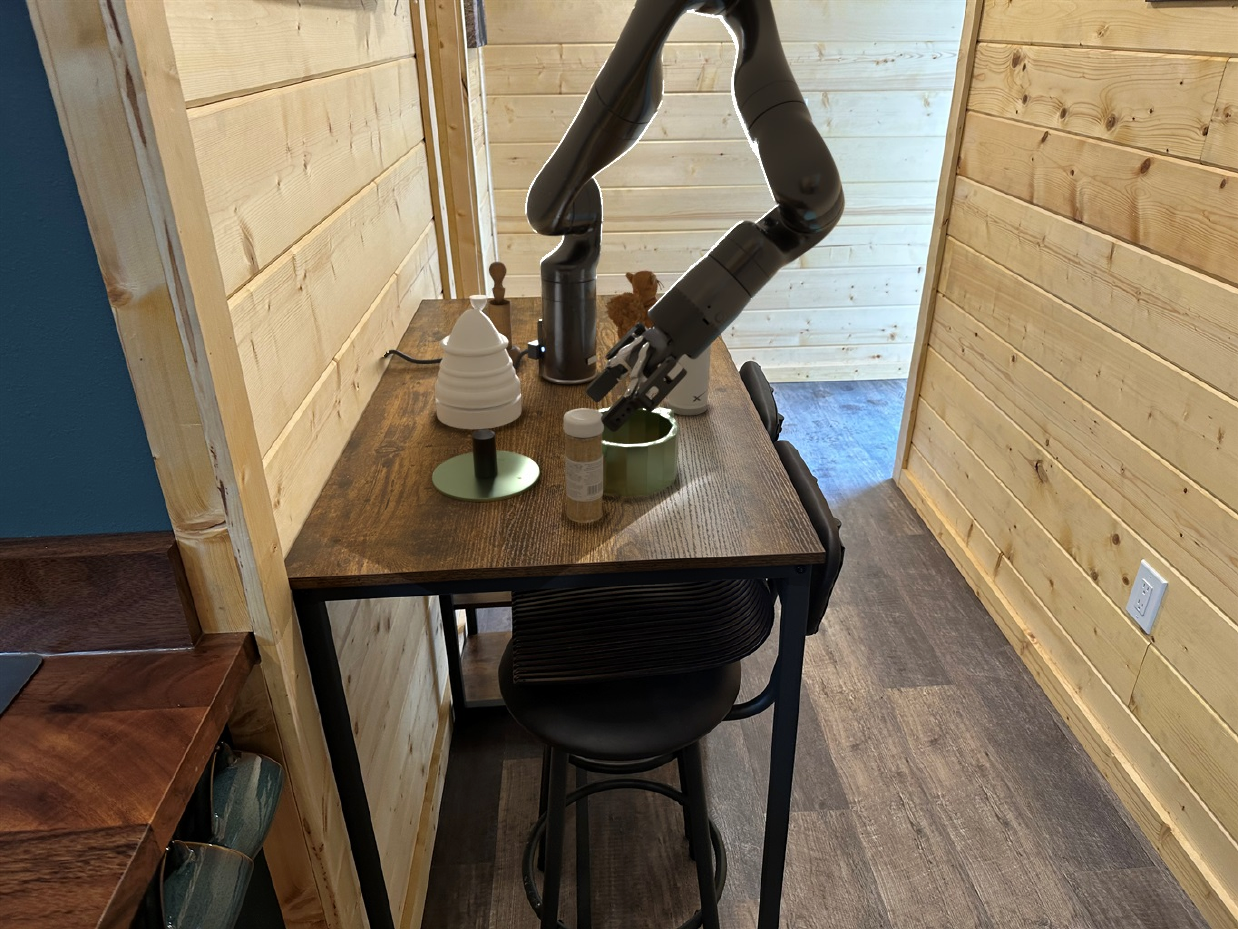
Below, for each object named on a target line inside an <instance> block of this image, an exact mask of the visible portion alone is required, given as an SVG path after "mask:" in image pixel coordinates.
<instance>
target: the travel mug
mask: <svg viewBox="0 0 1238 929" xmlns="http://www.w3.org/2000/svg"><path fill="white" fill-rule="evenodd" d="M711 352H712V344H711V345H710V346H709V347H708V348H707V349H706V350H705V351H704V352H703V353H702V354H701V355H700V356H699V357H698V358H697V359H690V358H689V357H688V356H687V355H686V354H684V355H683V356H682V357H681V358H680V360H679V361H678V362H679V363H680V364H681V365H682V366H683V368H684V369H685V370H687V374H686V376H685V377H684V378H683V379H682V380H681V381H680V382H679V383H678V384H677V385H676V386H675V388H674V389H673V390H672V391H671V392H670V393H669V394H668V395H667V405H666V406H667V409H669V410H672V411H674V414H677V415H680V416H697V415H702V414H703V413H705V412H706V411H707V409H708V399H709V383H710V382H709V381H710V369H711V368H710V366H711Z"/></svg>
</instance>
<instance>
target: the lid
mask: <svg viewBox="0 0 1238 929" xmlns="http://www.w3.org/2000/svg"><path fill="white" fill-rule="evenodd" d="M471 445H472V451H471V452H467V453H466V452H465V453H462V454H459V455H456V456H453V457H451V458H448V459H447V460H444V461H443V462H441V463H440V464H439V465H437V467H436V468H435V469H434V470H433V472H432V475H431V480H432V481H431V482H432V485H433V487H434V489H435V490H436V491H437V492H438V493H439V494H441V495H442V496H445V497H447V498H450V499H452V500H457V501H461V502H462V501H463V502H470V503H489V502H491V503H492V502H498V501H503V500H508V499H511V498H515V497H517V496H520V495H522V494H524V493H526V492H528V491H530V490H531V489H532V488H533V487H535V486H536V484H537V483H538V481H539V479H540V477H541V476H540V475H541V474H540V466H538V464H537V463H536V462H535V461H534V460H532V458H530V457H528V456H526V455H524V454H519V453H517V452H513V451H507V450H497V436H496V433H495V431H493V430H489V429H478V430H475V431H474V432H472V434H471Z"/></svg>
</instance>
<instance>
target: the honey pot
mask: <svg viewBox="0 0 1238 929" xmlns="http://www.w3.org/2000/svg"><path fill="white" fill-rule="evenodd" d="M469 301H470V305H471V306H472V308H468V309H466V310H465V311H464V312H462V313H461V314H460V316H459V317H458V318H457V320H456V322H455V324H454V326H453V328H452V330H451V332H450V334H449V335H447V336H445V337H443V338H442V339H441V340H440V343H439V347H440V350H442V351H443V356H442V358H443V359H442V361H441V363H439V370H438V372H437V379H436V381H435V383H434V388H433V389H434V391H435V392H434V396H435V398H434V399H435V409H436V410H435V411H436V416H437V419H438V421H440V422H441V423H442V424H444V425H446V426H449V427H451V428H457V429H463V430H487V429H494V428H498V427H503V426H505V425H507V424H509V423H512V422H514V421H516V420H517V419H518V418H519V417H520V416H522V410H523V409H522V393H521V391H522V389H521V380H520V378H519V376H517V374H516V372H517V371H516V369H514V367H513V366H512V364H513V362H512V360H511V358H510V357H509V355H508V353H507V350H506V348H507V346H508V340H507V338H506V337H505V336H503V335H501V334H498V332H497V330H496V329H495V327H494V325H493V324H492V322H491V321H490V320H489V316H487V315H486V314H485V313H484V312H483V310H484V309H485V307H486V306H487V303H488V296H487V295H486V294H473V295H470V296H469Z"/></svg>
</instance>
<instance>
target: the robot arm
mask: <svg viewBox="0 0 1238 929" xmlns="http://www.w3.org/2000/svg"><path fill="white" fill-rule="evenodd" d="M773 8H774V7H773V5H772V1H771V0H635V3H634V5H633V7H632V10H631V12H630V14H629V15H628V16H629V17H628V19H627V20H626V22H625V25H624V26H623V29H622V30H621V32H620V35H619V36H618V38H617V40H616V43H614V46H613V48H612V50H611V52H610V54H609V55H608V58H607V59H606V61H605V63H604V65H603V66H602V67H601V69H600V71H599V72H598V74H597V76H596V78H595V79H594V81H593V83H592V84H591V86H590V88H589V90H588V92H587V94H586V96H585V98H584V100H583V101H582V102H583V103H582V104H581V106H580V108H579V110H578V112H577V114H576V116H575V117H574V119H573V121H572V123H571V124H570V126H569V128H568V129H567V131H566V133H565V134H564V136H563V137H562V139H561V141H560V143H559V144H558V146H557V147H556V149H555V150H554V151H553V153H552V154H551V156H550V157H549V159H548V160H547V161H546V163H545V164H544V165H543V167H542V168H541V170H540V171H539V172H538V174H537V175H536V177H535V178H534V180H533V181H532V183H531V185H530V187H529V190H528V193H527V197H526V201H525V202H526V203H525V216H526V219H527V222H528V225H529V226H530V228H531V229H532V230H533V231H534V232H535V233H536V234H538V235H540V236H543V237H550V238H551V237H552V238H553V237H554V238H555V237H556V238H557V237H562V240H561V242H560V243H559V244H558V246H556V248H554V250H552V251H551V252H549V253H548V254H546V255H545V256H544V257H542V259H541V260H540V263H539V276H540V278H539V281H540V283H539V284H540V308H541V309H540V310H541V319H539V320H537V322H536V330H537V333H536V334H537V339H535V340H533V341H531V342H527V343H526V344H527V348H525V349H523V350H522V351H520V354H519V355H518V356H517V359H516V362H515V364H514V365H512V366H513V367H514V369H515V370H516V369H518V368H519V366H520V364H521V362H522V359H523V357H524V356H526V355H527V359H531V360H534V361H538V363H537V364H538V365H537V366H538V375H539V376H542V378H543V379H544V380H546V381H548V382H549V383H554V384H559V385H581V384H586V383H589V382H590V383H589V384H588V386H586V388H585V389H584V392H585V394H586V396H587V397H589V398H590V399H591V400H592V401H593V402H594V403H596V404H597V403H600V402H601V401H602V400H603V399H604V398H605V397H606V396H607V395H608V394H609V393H610V392H611V391H612V390H613V389H614V388H615V387H616V386H617V385H618V384H619V383H620V380H623V379H625V378H626V377H628V376H629V378H630V383H629V385H628V386H627V388H626V390H625V393H624V394H622V395H621V396H620V397H619V398H618V399H617V400H616V401H615V402H614V403H613V404H612V405H611V406H610V407H608V408H609V409H608V410H607V411H606V412H605V413H604V415H603V416H602V417H601V421H602V423H603V424H604V425H605V426H606V427H607V428H608V429H609V430H611V431H612V432H615V431H617V430H618V429H619V428H620V427H621V426H622V425H623V424H624V423H625V422H626V421H627V420H628V419H629V418H630V417H631V416H632V415H633V414H634V413H635V412H636V411H637V410H638V409H640V410H643V409H645V410H647V411H648V412H652V411H653V410H655V409H657V408H658V406H659V405H660V404H661V403H662V402H663V401H664V399H665V398H667V397H668V394H669V393H670V392H671V391H672V390H673V389H674V388H675V386H676V385H677V384H678V383H679V382H680V381H681V380H682V379H683V378H684V377H685V376H686V374H687V370H685V369H684V368H683V366H682V365H681V364H680V363H679V362H678V361H679V360H680V358H681V357H682V356H683V355H684V354H686V355H687V356H688V357H689V358H690V359H697V358H698V357H699V356H700V355H701V354H702V353H703V352H704V351H705V350H706V349H707V348H708V347H709V346H710V345H711V346H712V344H713V343H714V342H715V341H716V340H717V339H718V337H720V335H722V334H723V333H724V331H726V330H727V328H728V327H729V326H730V325H731V324H732V323H733V322H734V321H736V319H737V318H738V317H739V316H740V315H741V313H742V312H743V311H744V310H745V308H746V307H747V306H748V304H749V303H750V302H751V301H752V300H753V299H754V298H755V296H757V295H758V294H759V293H760V291H762V289H764V288H765V287H766V286H767V285H768V283H769V282H771V280H772V279H773V278H774V277H775V276H776V275H777V274H778V273H779V271H781V270H783V269H784V268H786V267H787V266H788V265H790V264H792V263H793V262H795V261H797V259H799V258H801V257H802V256H804V255H805V254H806V253H807V252H809V251H811V250H812V249H813V248H815V247H816V246H817V245H818V244H820V243H821V242H822V241H824V239H825V238H826V237H827V236H829V234H831V232H832V231H833V230H834V229H835V227H836V226H837V225H838V223H839V222H840V220H841V218H842V216H843V214H844V211H845V207H846V206H845V205H846V198H845V193H844V192H845V191H844V189H843V184H842V180H841V175H840V171H839V169H838V166H837V164H836V161H835V159H834V157H833V154H832V153H831V151H830V149H829V147H828V145H827V144H826V141H825V140H824V138H823V137H822V135H821V133H820V132H819V130H818V128H817V127H816V125H815V124H814V121H813V118H812V115H811V112H810V109H809V107H808V105H807V103H806V100H805V98H804V96H803V94H802V91H801V89H800V87H799V85H798V83H797V80H796V79H795V77H794V74H793V72H792V70H791V66H790V65H789V62H788V60H787V56H786V54H785V50H784V48H783V45H782V41H781V38H780V33H779V30H778V25H777V21H776V16H775V13H774V9H773ZM686 13H690V14H697V15H701V16H706V17H710V18H719V19H720V21H721V22H722V23H723V24H724V26H725V27H726V29H727V30H728V33H729V34H730V35H731V37H732V40H733V42H734V45H735V49H736V51H735V52H736V55H735V60H734V66H733V71H732V77H731V96H732V101H733V105H734V108H735V111H736V114H737V116H738V118H739V121H740V123H741V126H742V128H743V130H744V133H745V135H746V138H747V139H748V142H749V144H750V147H751V148H752V151H753V152H754V153H755V155H756V156H757V158H758V159H759V160H758V161H759V163H760V166H761V169H762V171H763V174H764V177H765V181H766V183H767V185H768V188H769V191H770V193H771V196H772V198H773V201H774V203H775V206H774V207H773V208H772V209H770V210H769V211H768V212H767V213H765V214H764V215H763V216H762V217H761V218H759V219H758V220H756V221H755V222H754V221H753V220H747V219H746V220H741V221H739V222H737V223H735V225H734V226H733V227H731V228H730V229H729V230H728V231H727V232H726V233H725V234H724V235H723V236H722V237H721V238H720V239H719V240H718V241H717V242H716V243H715V245H713V246H712V247H711V249H710V250H709V251H707V253H706V254H705V255H704V256H703V257H701V258H700V259H699V260H698V261H697V262H695V263H694V264H693V265H691V266H690V267H689V269H688V270H686V271H685V272H684V274H682V276H681V277H680V278H678V280H677V281H676V282H675V283H674V284H673V285H672V286H671V287H670V288H669V289H668V290H667V291H666V292H665V293H664V294H663V295H662V296H661V297H660V298H661V299H660V300H659V301H658V302H657V303H656V304H655V305H654V306H653V307H652V308H651V309H650V310H649V311H648V317H649V318H650V319H651V320H652V321H653V323H654V325H653V326H652V327H651V328H650V329H648V328H646V327H645V326H644V325H643V324H642V323H641V322H638V323H637V324H636V325H635V326H634V327H633V328H632V329H631V330H630V331H629V332H628V333H627V334H626V335H625V336H624V337H623V338H622V339H621V340H620V339H619V340H618V342H616V343H615V344H614V345H613V347H611V348H610V350H609V351H607V353H606V354H605V356H604V358H605V359H606V360H607V361H606V362H605V364H604V367H605V368H604V369H603V370H602V371H601V372H600V373H599V374H598V369H597V368H598V367H597V366H598V364H597V363H598V351H597V350H598V347H597V344H598V342H597V340H598V338H597V337H598V336H597V335H598V334H597V333H598V331H597V330H598V329H597V328H598V327H597V326H598V325H597V324H598V322H597V320H598V319H597V318H598V317H597V316H598V314H597V310H598V308H597V300H598V299H597V296H598V295H597V273H598V272H597V271H598V270H597V269H598V265H599V263H600V260H601V255H602V254H601V253H602V236H603V235H602V233H603V219H604V218H603V216H604V213H603V212H604V211H603V208H604V207H603V206H604V205H603V199H602V198H603V197H602V192H601V188H600V186H599V184H598V182H597V180H596V179H595V176H596V175H597V174H599V173H600V172H601V171H603V170H605V169H606V168H607V167H609V166H610V165H612V164H613V163H614V162H616V161H617V160H619V159H620V158H621V157H622V156H624V155H625V154H627V152H628V151H630V150H631V149H632V148H633V147H634V146H635V145H636V144H637V143H638V142H639V140H641V138H642V136H643V135H644V133H645V132H646V130H647V129H648V127H649V125H650V124H651V123H652V121H653V119H654V118H655V117H656V115H657V113H658V111H659V109H660V107H661V105H662V102H663V97H664V88H665V86H664V85H665V84H664V83H665V81H664V66H663V65H664V64H663V52H664V47H665V44H666V42H667V40H668V38H669V36H670V34H671V32H672V30H673V29H674V27H675V25H676V24H677V23H678V21H679V20H680V19H681V17H682V16H683V15H684V14H686ZM388 350H389V353H387V351H385V352H386V354H385V355H384V357H383V358H388V357H389V356H391V355H396V356H398V357H399V358H402V359H403V360H406V361H407V362H409V363H412V364H416V365H434V364H440V363H441V361H442V359H443V357H440V358H432V359H417V358H413V357H411V356H409V355H407V354H405V353H403V351H399V350H398V349H388ZM520 361H521V362H520ZM654 394H655V395H654ZM653 395H654V396H653ZM652 396H653V397H652Z"/></svg>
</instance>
